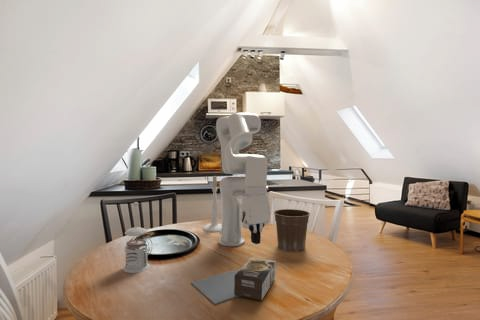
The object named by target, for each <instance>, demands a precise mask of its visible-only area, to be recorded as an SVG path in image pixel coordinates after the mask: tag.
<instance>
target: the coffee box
mask: <svg viewBox="0 0 480 320" xmlns="http://www.w3.org/2000/svg"><path fill="white" fill-rule="evenodd" d="M276 263H277V262H276V261H275V260H268V259H263V258H257V257H250V258H249V259H248V260H247V262H246V263H244V265H243V266H242V267H241V268H240V269H238V270H239V271H238V272H237V273H236V274H235V284H234V295H238V296H239V297H243V298H248V299H254V300H259V301H262V300H263V299H264V297H265V296H266V294H267V292H268V291H269V289H270V287H271V286H272V284H273V283H274V281H275V279H276V268H277V267H276V266H277V265H276Z"/></svg>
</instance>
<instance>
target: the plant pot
mask: <svg viewBox="0 0 480 320" xmlns="http://www.w3.org/2000/svg"><path fill="white" fill-rule="evenodd" d="M273 214H274V221H275V223H276V224H275V225H276V234H277V236H276V237H277V247H278V249H280V250H282V251H285V252H296V251H297V252H301V251H304V250H305V248H306V240H307V230H308V224H309V218H310V215H311V212H309V211H306V210H302V209H293V208H292V209H291V208H289V209H288V208H287V209H285V208H284V209H283V208H282V209H277V210H274V211H273Z"/></svg>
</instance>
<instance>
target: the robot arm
mask: <svg viewBox="0 0 480 320" xmlns="http://www.w3.org/2000/svg"><path fill="white" fill-rule="evenodd" d="M261 128H262V121H261V118H260V116H259V115H258V114H257V113H254V112H253V113H252V112H251V113H250V112H234V113H231V114H230V115H227V116H220V117H219V118H217V119H216V124H215V129H216V135H217V138H218V140H219V144H220V147H221V149H220V151H221V153H220V155H221V157H220V158H221V169H222V171H223V173H224V174H228V175H229V174H231V175H232V176H225V177H222V178H221V179H220V180H219V193H220V200H221V224H222V231H221V232H219V235H220V238H219V239H218V241H217V242H218V244H219V245H220V246H224V247H238V246H239V247H240V246H242V245H244V244H245V243H246V241H245V238H244V237H242V229H246V230H249V232H250V241H251V242H250V243H253V244H255V245H259V244H261V235H262V234H261V233H262V232H263V228H264V227H265V226H267V225H268V224H269V223H270V222H269V221H270V218H271V210H270V209H271V208H270V199H269V194H268V193H267V192H268V190H269V189H270V188H269V186H268V183H267V182H268V163H267V162H268V159H267V157H266V156H264V155H261V154H257V153H256V154H255V153H254V154H253V153H251V154H249V153H240V150H241V151H242V150H244V149H245V148H247V147H248V146H250V145H251V144H252V142H253V134H254V135H255V134H257V133H259V131H260V130H261ZM234 175H235V176H234ZM237 175H242V176H237ZM237 197H242V198H241V202H240V201H239V200H238V198H237Z"/></svg>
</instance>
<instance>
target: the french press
mask: <svg viewBox="0 0 480 320" xmlns="http://www.w3.org/2000/svg"><path fill="white" fill-rule="evenodd" d="M132 206H135V207H134V208H135V209H137V206H139V202H137V201H135V202H133V204H132ZM147 232H148V230H147V229H146V228H144V227H140V226H134V227H131V228H129V229H127V230H125V232H124V234H125V236H129V237H135V239H132V240H129V241H126V244H125V245H126V246H125V249H124V250H125V251H124V253H125V265H124V266H123V268H122V271H123V272H125V273H128V274H135V273H136V274H138V273H141V272H144V271H146V270H149V269H150V266H151V265H150V263H149V262H148V256H149V255H150V254H151V253H152V251H153V248H151V249H150V248H148V245H150V243H151V245H153V242H152V239H151V238H150V236H149V235H146V236H144V235H145V234H147ZM142 235H143V237H142V239H140V238H138V237H137V236H142ZM148 239H149V241H150V243H149V241H148Z"/></svg>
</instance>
